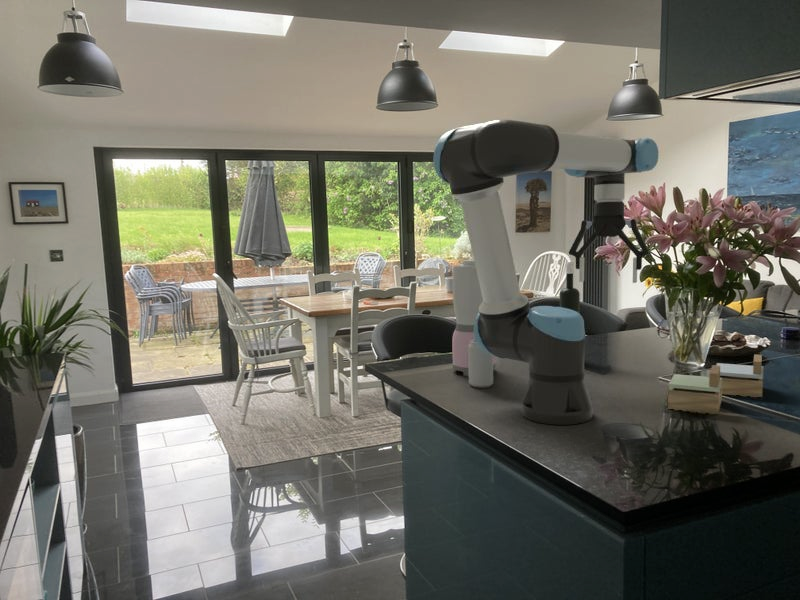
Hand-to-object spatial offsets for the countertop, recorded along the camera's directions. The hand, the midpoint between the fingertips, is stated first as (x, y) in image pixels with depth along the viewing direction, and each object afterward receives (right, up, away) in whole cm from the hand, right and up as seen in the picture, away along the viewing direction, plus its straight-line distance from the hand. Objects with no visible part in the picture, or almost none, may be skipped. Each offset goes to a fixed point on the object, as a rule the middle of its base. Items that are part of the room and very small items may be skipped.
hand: (607, 282), depth 168 cm
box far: (+26, -27, -16) cm, 41 cm away
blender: (-34, -25, +15) cm, 45 cm away
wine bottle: (-4, -23, +24) cm, 34 cm away
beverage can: (-34, -27, -2) cm, 44 cm away
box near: (+11, -29, -26) cm, 40 cm away
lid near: (+11, -24, -27) cm, 37 cm away
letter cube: (+26, -27, -17) cm, 41 cm away
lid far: (+26, -22, -17) cm, 38 cm away
